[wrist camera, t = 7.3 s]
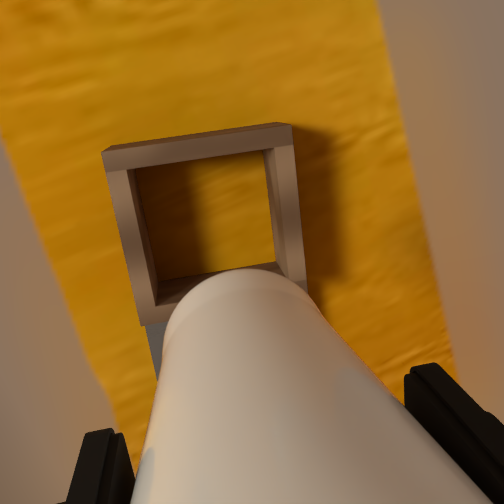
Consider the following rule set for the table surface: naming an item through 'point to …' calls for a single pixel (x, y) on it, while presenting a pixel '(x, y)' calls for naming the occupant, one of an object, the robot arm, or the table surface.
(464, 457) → the robot arm
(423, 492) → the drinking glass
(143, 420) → the table surface
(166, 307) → the frame
